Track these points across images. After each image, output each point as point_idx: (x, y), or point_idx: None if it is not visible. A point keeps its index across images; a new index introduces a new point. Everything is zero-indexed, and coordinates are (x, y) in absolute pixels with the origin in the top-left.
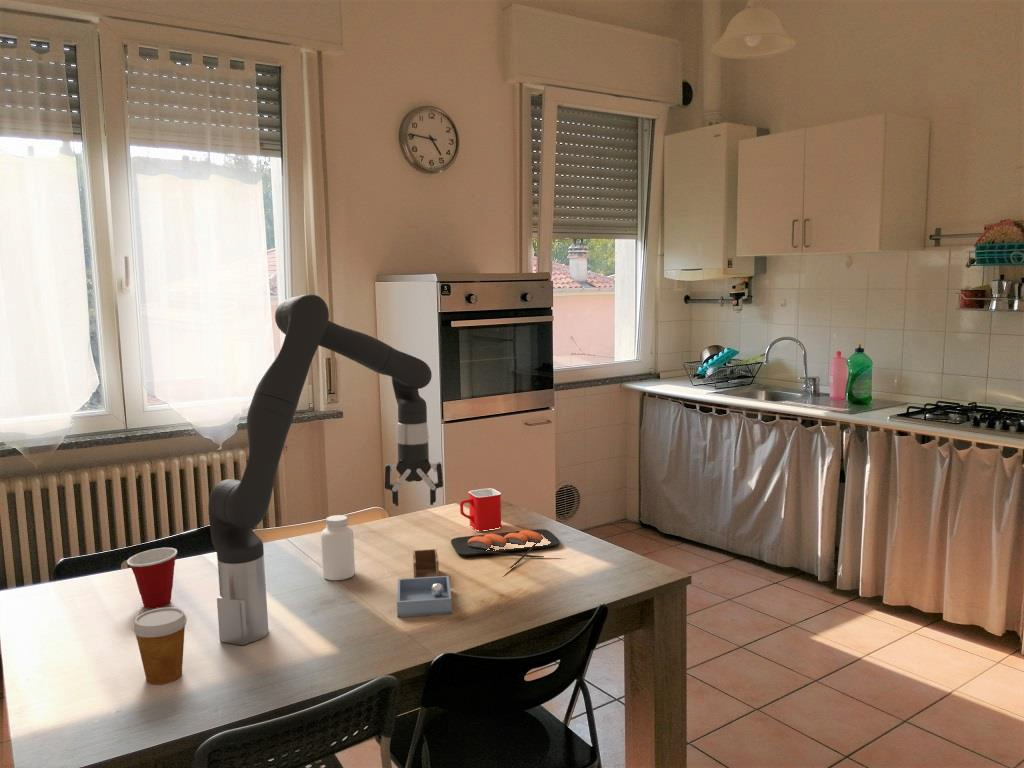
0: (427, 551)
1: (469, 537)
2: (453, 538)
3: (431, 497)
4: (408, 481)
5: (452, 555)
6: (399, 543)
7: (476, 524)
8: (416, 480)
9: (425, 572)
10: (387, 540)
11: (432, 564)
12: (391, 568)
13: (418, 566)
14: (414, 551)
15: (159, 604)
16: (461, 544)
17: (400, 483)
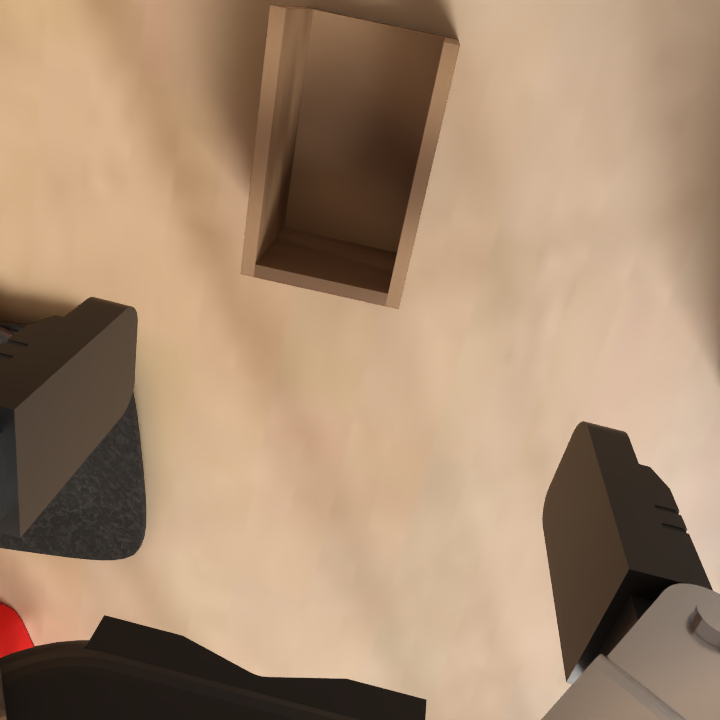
0: (305, 272)
1: (51, 543)
2: (127, 556)
3: (61, 344)
4: (402, 698)
5: (163, 400)
6: (380, 632)
7: (2, 646)
8: (189, 665)
9: (353, 180)
10: (423, 681)
11: (294, 237)
12: (510, 353)
13: (378, 255)
14: (392, 287)
15: None
16: (100, 496)
17: (630, 683)
